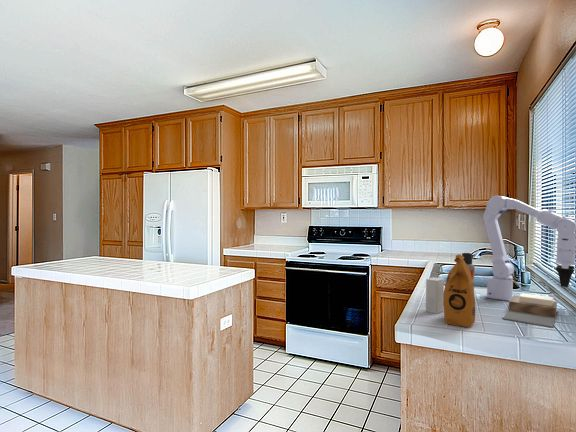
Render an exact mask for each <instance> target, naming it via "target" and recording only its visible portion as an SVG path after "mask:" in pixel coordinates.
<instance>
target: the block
mask: <svg viewBox="0 0 576 432" xmlns="http://www.w3.org/2000/svg"><path fill="white" fill-rule="evenodd" d="M518 296H519V302H526V303H533V304H540V305H547V306H552V305H553V301H554V297H553V296H546V295H537V294H530V293H522V292H521V293H520V295H518Z"/></svg>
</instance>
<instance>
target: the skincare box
mask: <svg viewBox="0 0 576 432" xmlns="http://www.w3.org/2000/svg"><path fill="white" fill-rule="evenodd" d="M425 280H426V281H425V312H427V313H431V314H436V315H437V314H440V313H442V312H444V304H443V296H444V289H445V279H444V278H441V277H429V278H426V279H425Z"/></svg>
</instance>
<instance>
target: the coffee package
mask: <svg viewBox="0 0 576 432" xmlns="http://www.w3.org/2000/svg"><path fill="white" fill-rule="evenodd" d="M463 259H464V257H463V256H462V254H457V255H456V254H455V258H454V260H453V261H454V262H455V264H454V265H453V266H452V268H451V269H450V270H449V272H448V274H447V277H446V280H445V282H444V296H443V304H444V306H443V319H444V321H445V323H446V324H447V325H452V326H455V327H463V328H468V327H471V328H472V326H473V325H474V323H475V321H476V295H475V286H474V287H473V282H472V278H471V272H470V270H469V268H468V266H467V265H466V263H465V261H464V260H463Z"/></svg>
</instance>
